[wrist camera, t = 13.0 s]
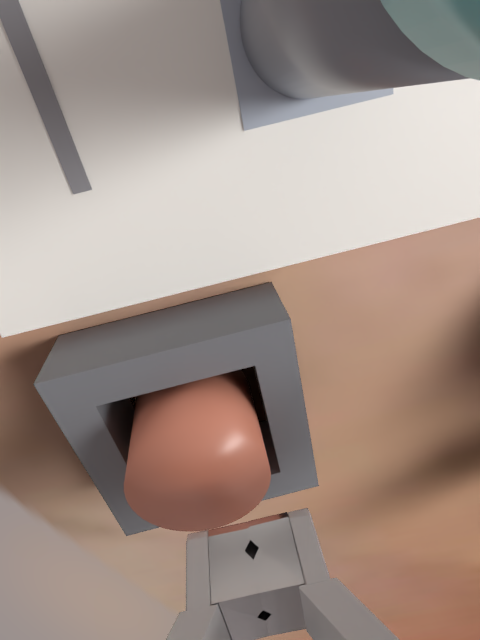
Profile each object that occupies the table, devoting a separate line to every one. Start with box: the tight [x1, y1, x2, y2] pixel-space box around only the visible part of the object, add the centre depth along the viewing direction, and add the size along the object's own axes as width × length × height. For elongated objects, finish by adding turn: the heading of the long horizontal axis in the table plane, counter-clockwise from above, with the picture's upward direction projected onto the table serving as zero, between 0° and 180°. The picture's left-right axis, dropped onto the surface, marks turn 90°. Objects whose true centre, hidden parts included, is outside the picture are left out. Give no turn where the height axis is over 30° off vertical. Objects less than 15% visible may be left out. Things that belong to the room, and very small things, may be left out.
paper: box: [0, 0, 480, 338], centre depth 9 cm, size 12×16×1 cm
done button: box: [124, 369, 271, 531], centre depth 12 cm, size 4×4×4 cm
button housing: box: [33, 282, 319, 536], centre depth 13 cm, size 7×7×2 cm
